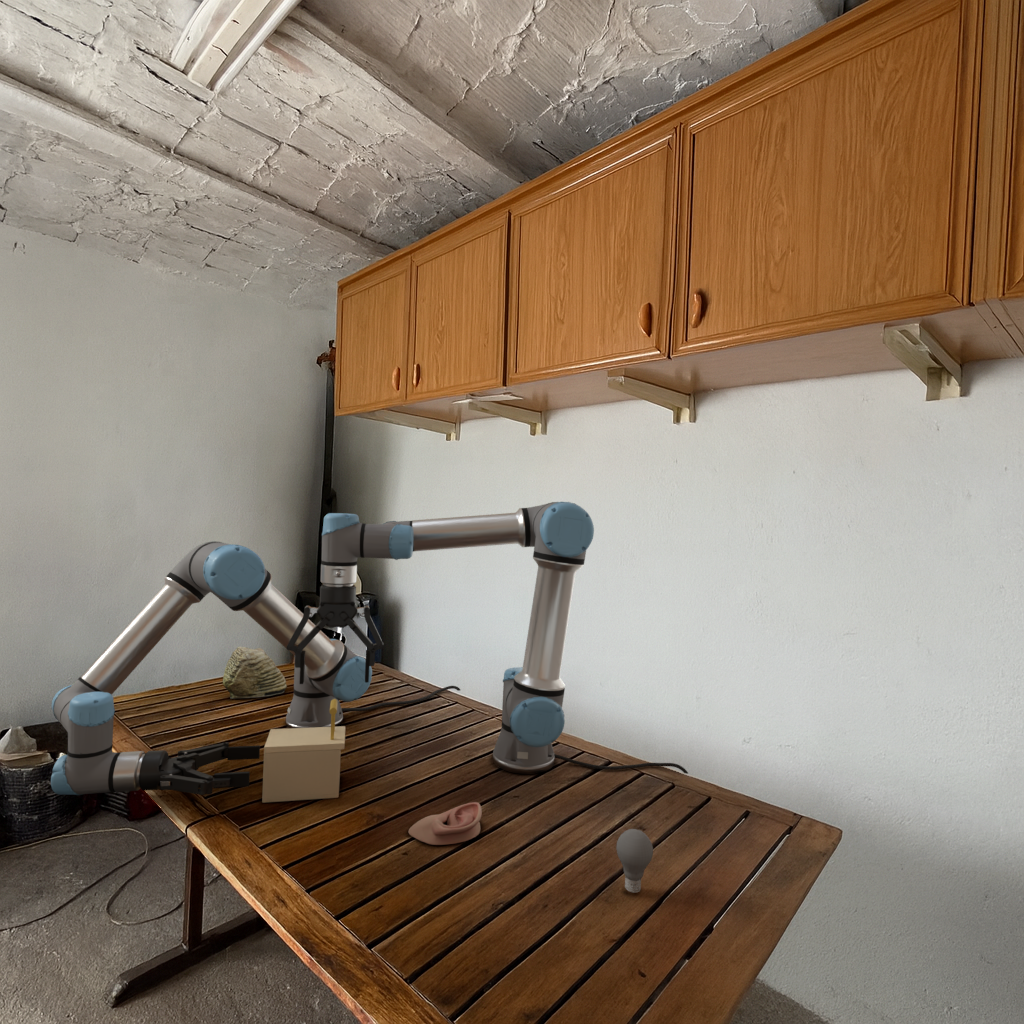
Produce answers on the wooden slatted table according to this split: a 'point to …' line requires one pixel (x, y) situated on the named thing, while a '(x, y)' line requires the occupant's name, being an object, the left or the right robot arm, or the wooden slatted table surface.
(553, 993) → the wooden slatted table surface
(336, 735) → the lid
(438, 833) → the anatomical model
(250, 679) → the fossil
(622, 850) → the light bulb
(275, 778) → the chest
